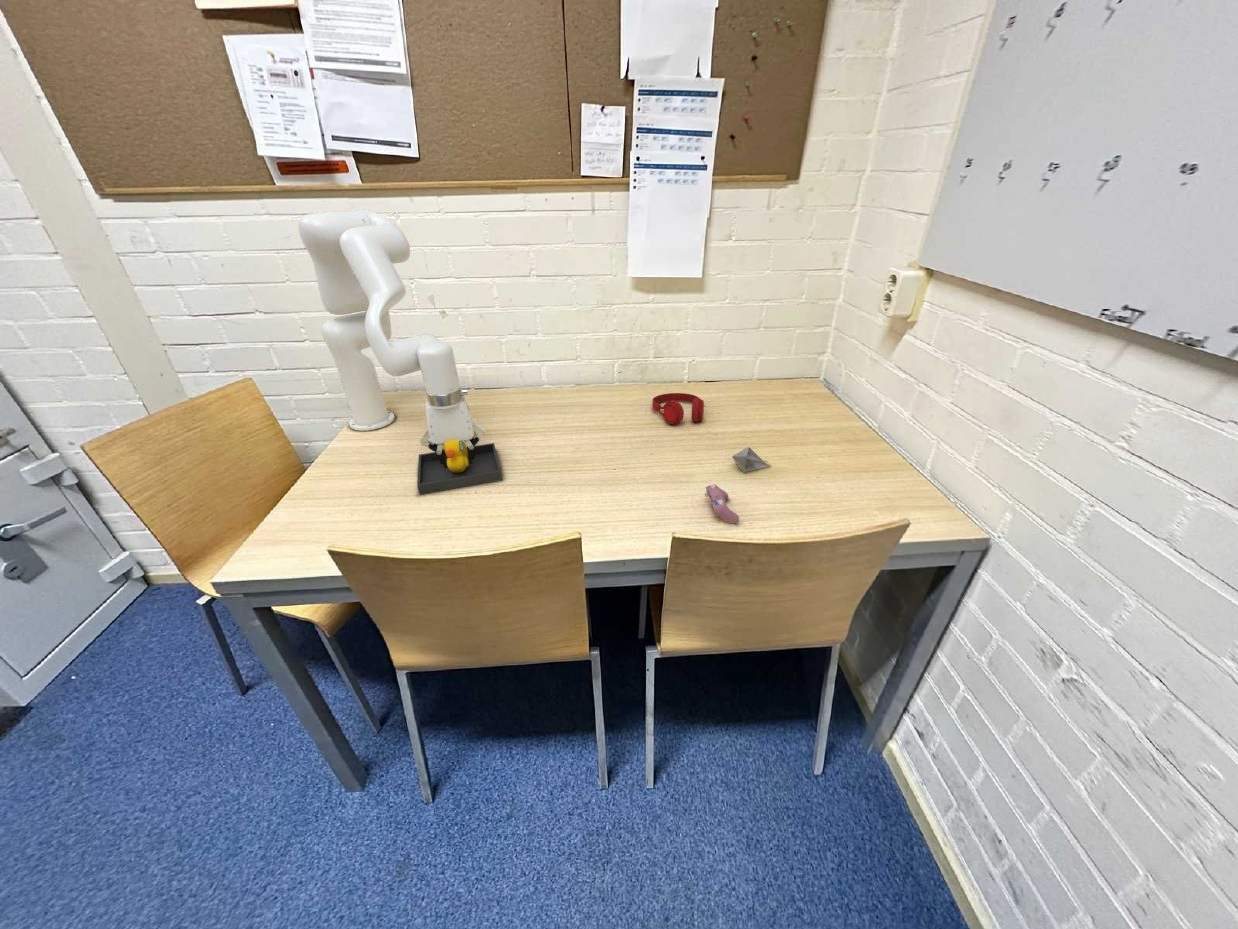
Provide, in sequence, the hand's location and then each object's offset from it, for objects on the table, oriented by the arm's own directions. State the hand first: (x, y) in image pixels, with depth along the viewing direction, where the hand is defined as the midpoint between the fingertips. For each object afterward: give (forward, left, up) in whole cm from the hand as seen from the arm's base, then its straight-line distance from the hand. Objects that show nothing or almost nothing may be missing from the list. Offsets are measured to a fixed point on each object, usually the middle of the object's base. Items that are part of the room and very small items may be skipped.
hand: (458, 462), depth 124 cm
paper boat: (+24, +69, -3) cm, 73 cm away
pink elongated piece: (+37, +54, -3) cm, 65 cm away
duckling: (0, 0, -2) cm, 2 cm away
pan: (0, 0, -3) cm, 3 cm away
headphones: (-13, +66, -3) cm, 67 cm away
